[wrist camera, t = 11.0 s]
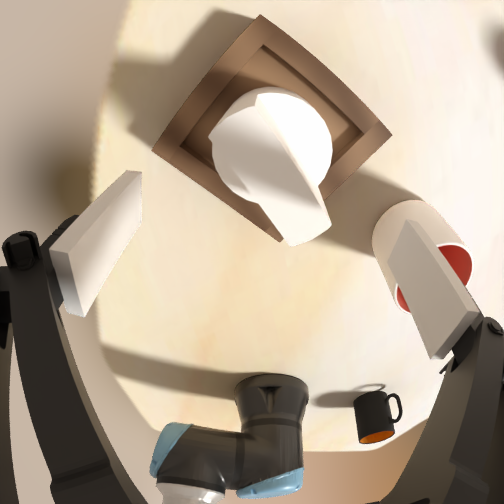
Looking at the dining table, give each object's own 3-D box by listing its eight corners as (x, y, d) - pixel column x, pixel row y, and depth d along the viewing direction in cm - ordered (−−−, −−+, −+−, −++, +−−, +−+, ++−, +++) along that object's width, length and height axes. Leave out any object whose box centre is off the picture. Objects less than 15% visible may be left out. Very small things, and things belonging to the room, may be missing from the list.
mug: (405, 386, 59) (415, 425, 50) (368, 409, 65) (373, 445, 56) (385, 380, 56) (394, 422, 48) (346, 403, 62) (351, 442, 54)
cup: (361, 210, 34) (388, 262, 26) (433, 185, 31) (476, 229, 23) (376, 271, 39) (397, 326, 31) (439, 248, 36) (471, 297, 28)
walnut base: (278, 222, 35) (279, 242, 32) (164, 139, 30) (151, 150, 27) (377, 125, 28) (392, 135, 25) (260, 20, 22) (260, 14, 19)
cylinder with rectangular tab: (336, 149, 27) (376, 206, 17) (257, 193, 30) (253, 269, 20) (285, 68, 23) (301, 72, 13) (203, 121, 26) (163, 163, 16)
